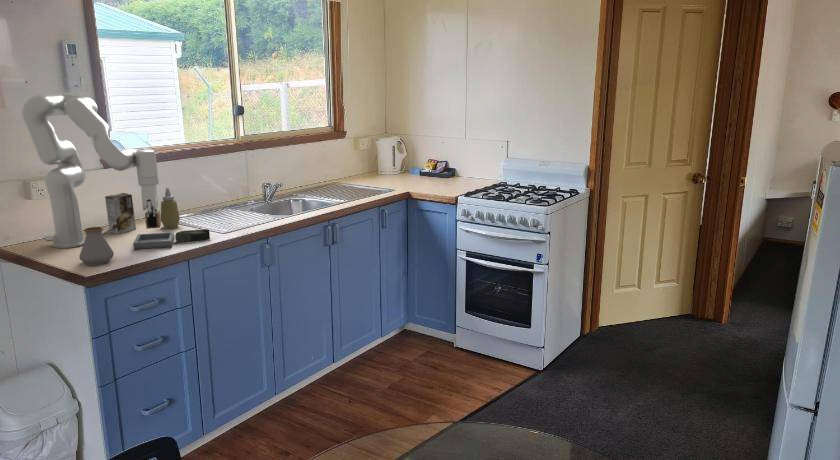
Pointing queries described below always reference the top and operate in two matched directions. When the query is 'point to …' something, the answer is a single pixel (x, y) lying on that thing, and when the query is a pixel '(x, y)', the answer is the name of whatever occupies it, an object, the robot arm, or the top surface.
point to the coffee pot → (97, 245)
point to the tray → (154, 241)
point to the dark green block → (192, 236)
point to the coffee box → (120, 212)
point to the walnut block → (157, 215)
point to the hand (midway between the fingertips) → (153, 224)
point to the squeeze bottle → (169, 211)
